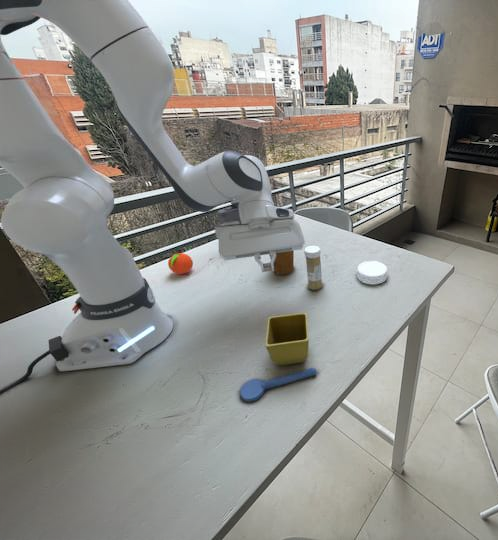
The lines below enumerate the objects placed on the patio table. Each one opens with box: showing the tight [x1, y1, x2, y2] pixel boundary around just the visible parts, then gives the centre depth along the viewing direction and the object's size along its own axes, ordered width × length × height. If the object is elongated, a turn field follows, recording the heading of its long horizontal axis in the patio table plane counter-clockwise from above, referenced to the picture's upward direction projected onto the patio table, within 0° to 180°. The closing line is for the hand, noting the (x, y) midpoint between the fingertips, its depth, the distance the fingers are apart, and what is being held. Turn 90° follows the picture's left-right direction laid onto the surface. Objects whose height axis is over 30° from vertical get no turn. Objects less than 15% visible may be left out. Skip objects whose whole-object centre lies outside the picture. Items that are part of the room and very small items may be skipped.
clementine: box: [167, 252, 194, 275], centre depth 93 cm, size 8×7×7 cm
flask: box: [217, 199, 240, 224], centre depth 108 cm, size 4×14×18 cm, turn 148°
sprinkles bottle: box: [304, 245, 323, 291], centre depth 86 cm, size 5×5×13 cm
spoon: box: [239, 367, 317, 403], centre depth 60 cm, size 16×5×2 cm, turn 111°
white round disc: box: [356, 260, 388, 286], centre depth 94 cm, size 10×10×4 cm
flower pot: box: [264, 312, 310, 366], centre depth 64 cm, size 9×9×9 cm
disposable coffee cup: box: [268, 250, 295, 276], centre depth 94 cm, size 10×10×12 cm
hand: (268, 270), depth 70 cm, fingers closed
